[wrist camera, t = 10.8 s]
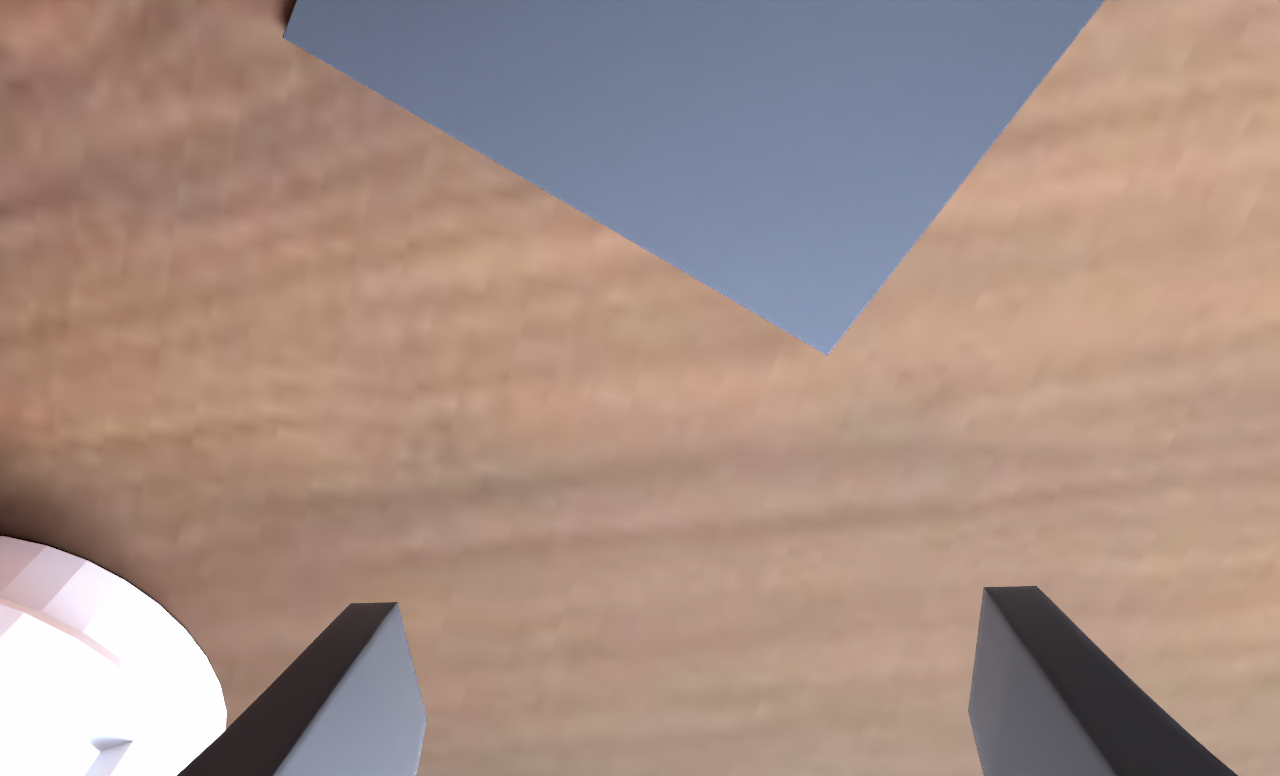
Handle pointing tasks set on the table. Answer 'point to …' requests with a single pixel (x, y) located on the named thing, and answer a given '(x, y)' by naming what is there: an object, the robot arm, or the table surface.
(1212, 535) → the table surface
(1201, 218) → the table surface
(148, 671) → the flag stand
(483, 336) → the table surface
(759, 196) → the desk mat
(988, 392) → the table surface
